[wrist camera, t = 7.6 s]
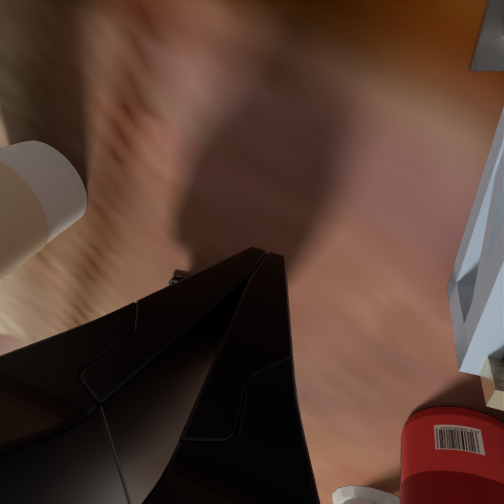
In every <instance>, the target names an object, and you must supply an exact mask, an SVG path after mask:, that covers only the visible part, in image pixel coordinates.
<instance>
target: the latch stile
mask: <svg viewBox="0 0 504 504" xmlns="http://www.w3.org/2000/svg"><path fill="white" fill-rule="evenodd" d="M479 373H480V378H481V382H482V387H483V392H484V397H485V402H486V406H488V407H492V408H495V409H499V410H502V411H504V355H503V357H502V359H499V358H494V357H490V356H487V358H486V360H485V362H484V364H483V366H482V368H481V370H480V372H479Z"/></svg>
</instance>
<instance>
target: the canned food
mask: <svg viewBox="0 0 504 504" xmlns="http://www.w3.org/2000/svg"><path fill="white" fill-rule="evenodd" d="M400 504H504V424H503V423H502V422H500V421H499V420H497V419H495V418H493V417H491V416H489V415H487V414H484V413H481V412H478V411H475V410H471V409H466V408H460V407H435V408H429V409H425V410H422V411H419V412H417V413H415V414H413V415H412V416H411V417H410V418H409V419H408V420H407V422H406V423H405V426H404V428H403V431H402V435H401V465H400Z"/></svg>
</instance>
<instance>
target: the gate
mask: <svg viewBox="0 0 504 504" xmlns="http://www.w3.org/2000/svg"><path fill="white" fill-rule="evenodd" d="M447 291H448V298H449V305H450V311H451V318H452V325H453V332H454V339H455V346H456V353H457V360H458V367H459V371H461V372H466V373H470V374H475V375H479V376H480V373H479V372H480V370H481V368H482V366H483V364H484V362H485V360H486V358H487V356H490V357H494V358H499V359H502V357H503V355H504V107H503V110H502V114H501V117H500V120H499V123H498V126H497V130H496V133H495V136H494V139H493V142H492V146H491V149H490V152H489V155H488V158H487V162H486V165H485V168H484V171H483V174H482V178H481V181H480V184H479V187H478V190H477V193H476V197H475V200H474V203H473V206H472V209H471V213H470V216H469V219H468V222H467V225H466V229H465V232H464V235H463V238H462V241H461V245H460V248H459V251H458V254H457V257H456V261H455V264H454V267H453V270H452V273H451V276H450V280H449V283H448V286H447Z"/></svg>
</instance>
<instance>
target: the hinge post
mask: <svg viewBox="0 0 504 504" xmlns="http://www.w3.org/2000/svg"><path fill="white" fill-rule="evenodd" d="M469 70H470V71H504V0H487V3H486V7H485V10H484V14H483V18H482V21H481V25H480V29H479V32H478V36H477V40H476V43H475V47H474V51H473V54H472V58H471V62H470V65H469Z"/></svg>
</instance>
